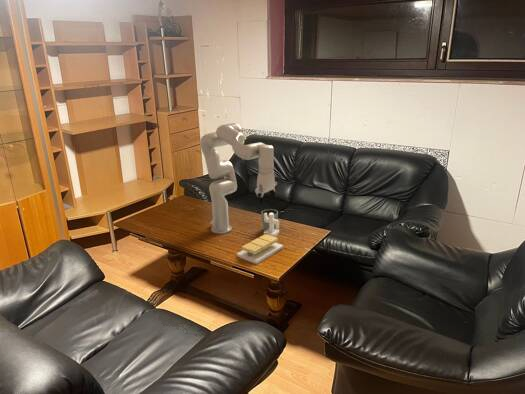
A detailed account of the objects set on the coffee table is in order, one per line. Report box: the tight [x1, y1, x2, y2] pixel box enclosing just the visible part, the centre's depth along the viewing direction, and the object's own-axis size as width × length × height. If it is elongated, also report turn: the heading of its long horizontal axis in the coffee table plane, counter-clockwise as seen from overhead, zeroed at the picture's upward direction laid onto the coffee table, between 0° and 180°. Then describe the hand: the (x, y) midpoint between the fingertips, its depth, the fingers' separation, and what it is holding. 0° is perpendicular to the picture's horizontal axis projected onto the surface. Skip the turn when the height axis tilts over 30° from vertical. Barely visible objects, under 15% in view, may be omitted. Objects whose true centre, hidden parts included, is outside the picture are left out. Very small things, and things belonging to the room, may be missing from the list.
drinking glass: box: [260, 208, 279, 232], centre depth 238 cm, size 10×10×12 cm
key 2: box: [249, 237, 270, 249], centre depth 212 cm, size 9×6×2 cm, turn 50°
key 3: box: [241, 242, 262, 255], centre depth 207 cm, size 9×6×2 cm, turn 50°
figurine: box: [263, 213, 280, 237], centre depth 228 cm, size 7×9×15 cm
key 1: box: [258, 233, 279, 245], centre depth 217 cm, size 9×6×2 cm, turn 50°
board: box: [236, 242, 285, 265], centre depth 213 cm, size 14×23×4 cm, turn 140°
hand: (266, 201), depth 205 cm, fingers open, 9 cm apart
